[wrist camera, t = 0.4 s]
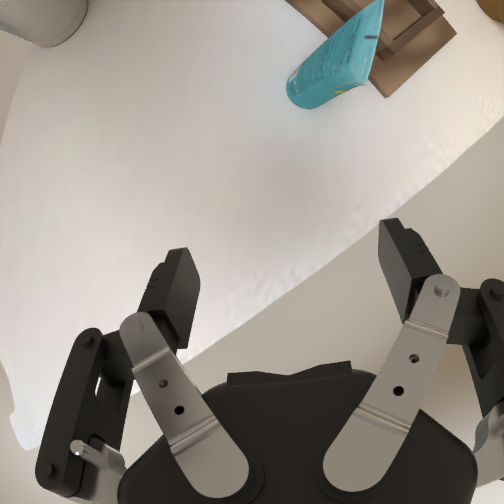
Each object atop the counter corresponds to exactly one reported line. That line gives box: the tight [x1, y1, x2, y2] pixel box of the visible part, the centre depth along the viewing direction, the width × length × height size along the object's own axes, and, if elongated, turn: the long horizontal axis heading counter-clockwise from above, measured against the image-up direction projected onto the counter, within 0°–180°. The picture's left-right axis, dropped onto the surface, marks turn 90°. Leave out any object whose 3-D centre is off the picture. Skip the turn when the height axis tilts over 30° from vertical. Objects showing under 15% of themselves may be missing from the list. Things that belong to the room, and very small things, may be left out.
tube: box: [286, 0, 385, 109], centre depth 23 cm, size 7×5×19 cm, turn 169°
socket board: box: [285, 0, 457, 98], centre depth 27 cm, size 18×18×5 cm
